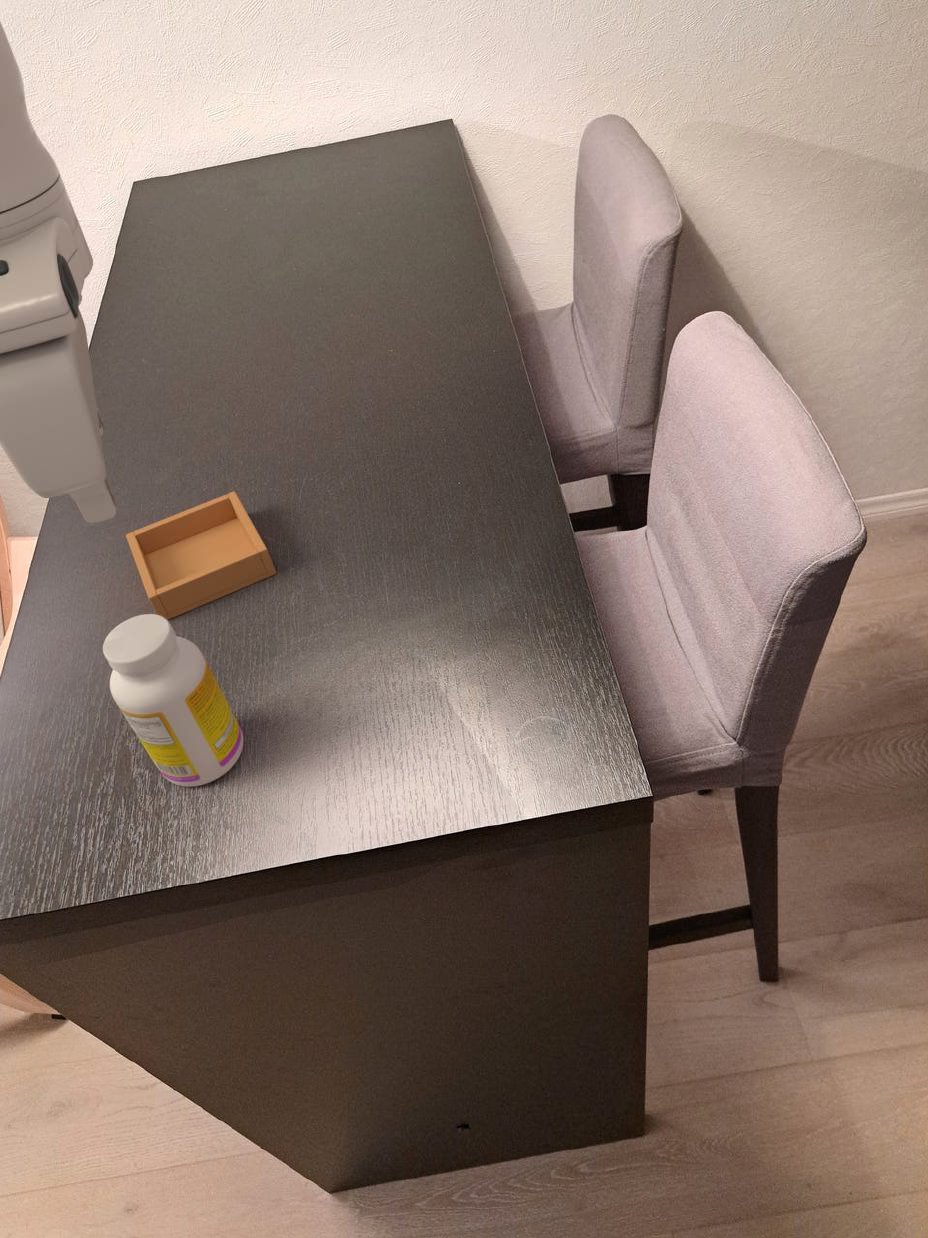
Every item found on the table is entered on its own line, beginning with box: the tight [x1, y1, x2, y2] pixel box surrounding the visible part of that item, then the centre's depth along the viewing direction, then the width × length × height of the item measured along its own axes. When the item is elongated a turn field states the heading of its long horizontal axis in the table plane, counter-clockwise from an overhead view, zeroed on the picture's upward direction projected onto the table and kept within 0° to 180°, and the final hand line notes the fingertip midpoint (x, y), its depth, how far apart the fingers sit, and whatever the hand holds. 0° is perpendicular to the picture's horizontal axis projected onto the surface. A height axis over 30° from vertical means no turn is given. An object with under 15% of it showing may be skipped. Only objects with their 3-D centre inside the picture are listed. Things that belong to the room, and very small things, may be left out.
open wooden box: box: [125, 490, 277, 621], centre depth 89 cm, size 11×11×3 cm
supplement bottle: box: [102, 613, 244, 788], centre depth 68 cm, size 7×7×13 cm
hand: (96, 472), depth 58 cm, fingers open, 8 cm apart
